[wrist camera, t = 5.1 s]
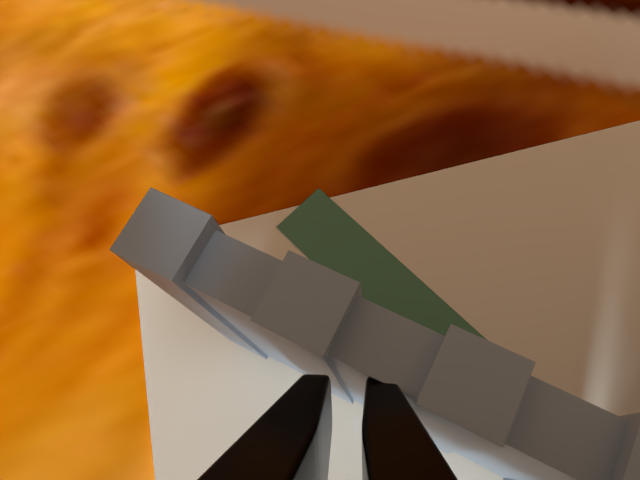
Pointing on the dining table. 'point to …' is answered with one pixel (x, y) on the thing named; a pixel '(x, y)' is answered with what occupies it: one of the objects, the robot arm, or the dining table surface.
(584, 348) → the card
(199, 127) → the dining table surface
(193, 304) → the fence panel
